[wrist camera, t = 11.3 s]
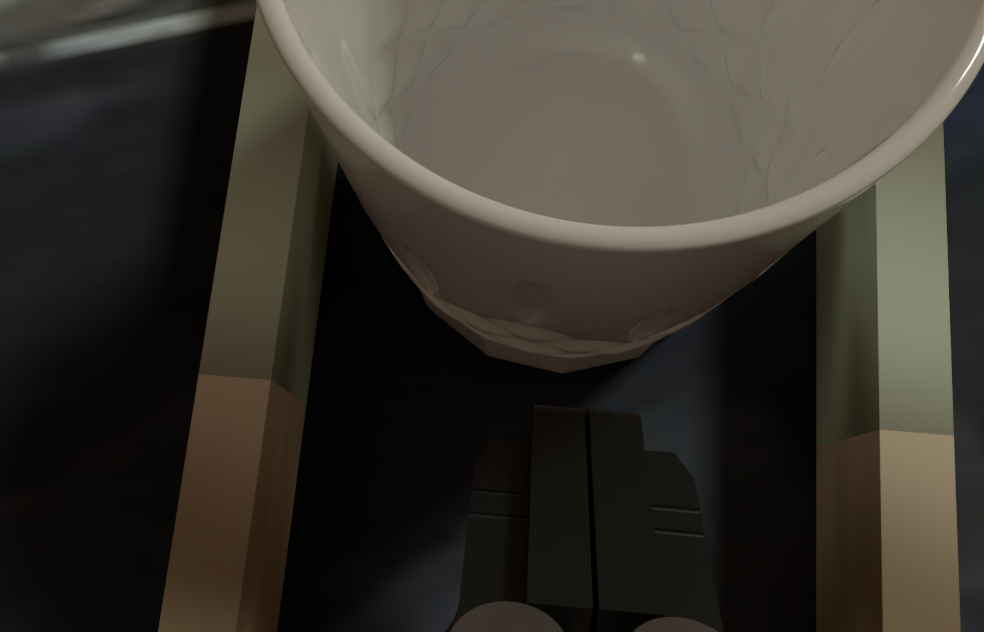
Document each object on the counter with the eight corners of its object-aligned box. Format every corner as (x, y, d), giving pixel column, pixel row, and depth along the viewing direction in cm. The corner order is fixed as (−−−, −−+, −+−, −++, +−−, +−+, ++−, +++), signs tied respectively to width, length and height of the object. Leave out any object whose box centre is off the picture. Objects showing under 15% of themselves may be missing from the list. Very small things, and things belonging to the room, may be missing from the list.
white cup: (325, 351, 18) (131, 144, 9) (424, 8, 20) (356, -484, 10) (714, 444, 18) (973, 336, 8) (781, 84, 20) (1058, -357, 10)
